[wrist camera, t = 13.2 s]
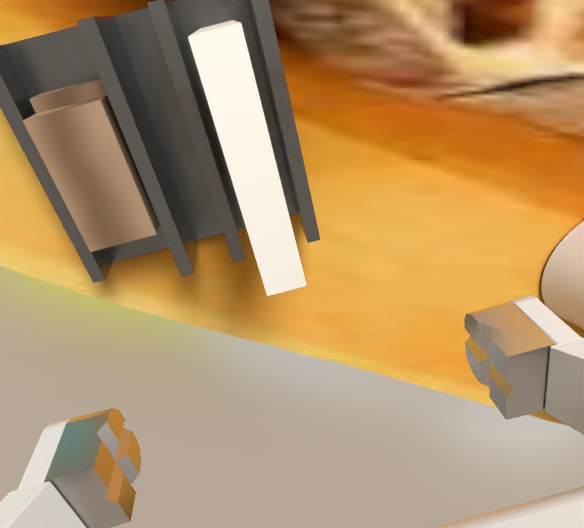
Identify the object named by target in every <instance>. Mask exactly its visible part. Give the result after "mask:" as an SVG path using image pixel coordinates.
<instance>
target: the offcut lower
mask: <svg viewBox="0 0 584 528" xmlns="http://www.w3.org/2000/svg"><path fill="white" fill-rule="evenodd" d="M105 95H107V93H106V91H105V89H104V86H103V84H102V81H101V79H100V78H98V79H95V80H91V81H87V82H83V83H79V84H75V85H72V86H68V87H64V88H60V89H56V90H52V91H49V92H45V93H41V94H39V95H36V96H34V97H32V98H30V99H29V100H30V102H31V104H32V106H33V108H34V110H35V112H36V113H40V112H44V111H48V110H51V109H55V108H59V107H63V106H67V105H71V104H74V103H78V102H82V101H86V100H90V99H94V98H97V97H101V96H105Z"/></svg>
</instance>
